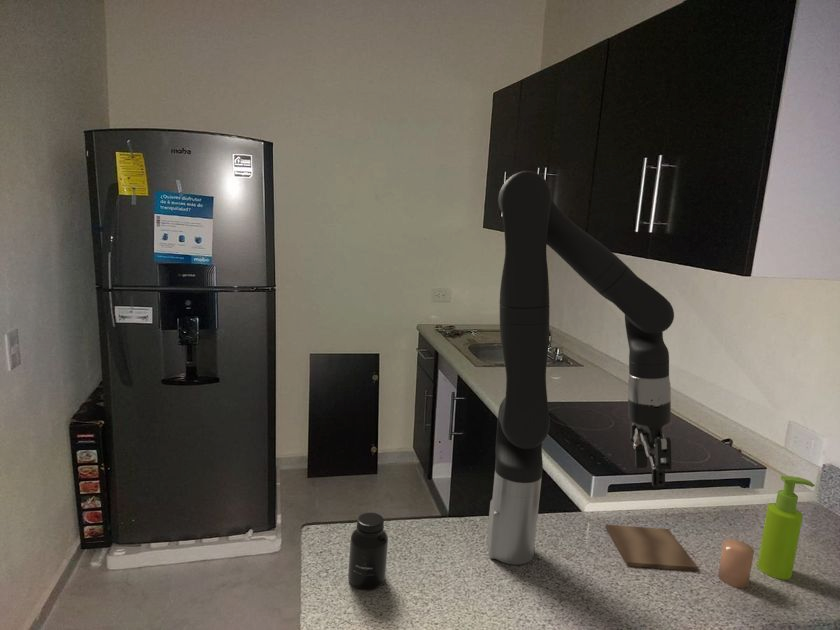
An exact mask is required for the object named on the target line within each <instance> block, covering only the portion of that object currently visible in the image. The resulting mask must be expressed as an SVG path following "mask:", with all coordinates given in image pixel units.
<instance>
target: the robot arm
mask: <svg viewBox="0 0 840 630" xmlns="http://www.w3.org/2000/svg"><path fill="white" fill-rule="evenodd" d="M497 202H498V208H499V210H500V212H501V215H502V220H503V221H502V222H503V230H504V231H503V233H504V243H505V244H504V245H505V246H504V247H505V249H504V251H505V252H504V260H503V261H504V262H503V267H502V272H501V274H502V275H501V280H500V290H499V331H500V343H501V350H502V355H503V356H502V357H503V361H504V367H505V376H506V377H505V379H506V383H505V384H506V387H505V397H504V398H503V399H502V401H501V402H500V404H499V408H498V413H497V422H496V423H497V424H496V435H495V436H496V439H495V466H494V478H493V488H492V498H491V500H490V502H489V503H490V504H489V512H488V525H487V536H486V544H487V550H488V556H489V558H490V559H492V560H493V559H494V560H497V561H499V562H501V563H504V564H508V565H513V566H514V565H524V564H528V563H529V562H531V561H532V560H533V559H534V554H535V549H536V548H535V547H536V546H535V545H536V537H537V536H536V535H537V527H538V526H537V525H538V524H537V523H538V516H539V506H540V505H539V504H540V496H541V486H542V479H543V478H542V477H543V469H544V468H543V466H544V464H543V463H544V462H543V442H544V441H545V439H546V438H547V436H548V434H549V431H550V428H551V427H550V426H551V420H550V411H549V403H548V391H547V366H548V365H547V364H548V355H549V354H548V353H549V351H548V350H549V339H550V338H549V337H550V285H549V284H550V283H549V282H550V281H549V271H548V270H549V267H548V258H547V246H548V247H549V248H551V249H552V250H553V251H554V252H555V254H557V255H558V256H559V257H560V258H562V259H563V261H564V262H565V263H566V264H568V265H569V266H570V268H571V269H572V270H573V271H574V272H575V273H577V274H578V275H579V276H580V277H581V279H583V280H584V281H585V283H587V284H588V285H589V286H591V288H592V289H594V290H595V291H596V292H597V293H598V294H599V295H601V296H602V297H603V298H604V299H606V300H607V301H609V302H611V303H613V305H615V306H616V307H617V308H618V309H619V310H620V311H621V312H622V313H623V314H624V323H625V324H624V325H625V331H626V338H627V343H628V348H629V351H628V352H629V354H628V373H629V374H628V383H627V399H628V400H627V407H628V408H627V409H628V411H627V412H628V413H627V414H628V420H629V422H630V423H629V442H630V443H633V444H632V447H633V449H634V465H635V467H636V468H638V469H641V468H642V469H646V468H647V467H648V458H649V461H650V465H651V486H652V487H653V488H655V489H660V488H664V487H665V486H666V471H671V470H672V440H671V438H670V437H665V436H664V432H663V427H664V426H666V425H669V424H670V422H671V418H672V417H671V416H672V415H671V413H672V412H671V410H672V408H671V405H672V404H671V403H672V402H671V401H672V399H671V397H672V396H671V395H672V393H671V391H672V388H671V387H672V386H671V381H670V353H669V349H668V347H667V345H666V344H665V342H664V337H663V336H664V332H666V331H667V330H668V329H669V328H670V327H671V326H672V324H673V323H674V319H675V310H674V308H673V306H672V304H671V302H670V301H669V300H668V299H667V298H666V297H665V296H664V295H663V294H661V293H660V292H659V291H658V290H656V289H655V288H654V287H652V286H651V285H650V284H649V283H647V282H646V281H644V280H643V279H641V278H640V277H639V276H638V275H637V274H635V273H634V272H633V270H632V269H631V268H630V267H629V266H628V265H627V264H626V263H624V262H623V261H622V260H621V259H620V258H619V257H618V256H617V255H616V254H614V252H612V251H611V249H609V248H608V247H606V246H605V245H604V244H603V243H601V242H600V241H598V240H597V239H596V238H595V237H593V236H592V235H590V234H589V233H588V232H587V231H585V230H583V228H581V227H579V226H578V225H577V224H575V223H574V222H573V221H572V220H571V219H570V218H569V217H568V216H567V215H565V213H563V212H562V210H561V209H560V208H559V207H558V206H557V205H556V204H555V202H554V201H553V200H552V190H551V187H550V185H549V183H548V182H547V180H546V179H545V177H543V176H542V175H541V174H540V173H537V172H536V171H531V170H522V171H519V172H518V171H517V173H514V174H512V175H511V176H510V177H509V178H507V179H506V180H505V181H504V182H503V184H502V186H501V187H500V190H499V192H498V200H497Z"/></svg>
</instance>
